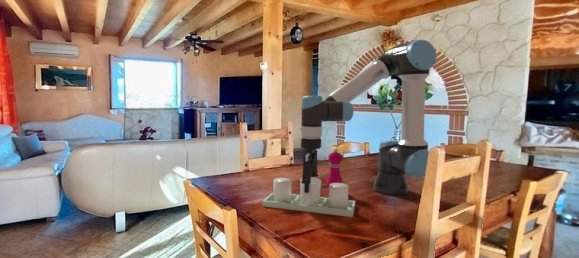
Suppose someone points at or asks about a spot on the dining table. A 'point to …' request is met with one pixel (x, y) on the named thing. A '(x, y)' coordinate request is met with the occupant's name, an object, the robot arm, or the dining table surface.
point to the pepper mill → (334, 168)
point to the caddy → (320, 208)
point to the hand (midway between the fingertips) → (309, 196)
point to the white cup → (312, 192)
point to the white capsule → (282, 190)
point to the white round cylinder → (338, 196)
